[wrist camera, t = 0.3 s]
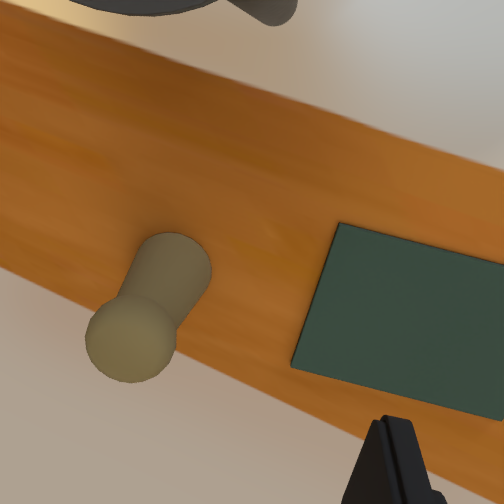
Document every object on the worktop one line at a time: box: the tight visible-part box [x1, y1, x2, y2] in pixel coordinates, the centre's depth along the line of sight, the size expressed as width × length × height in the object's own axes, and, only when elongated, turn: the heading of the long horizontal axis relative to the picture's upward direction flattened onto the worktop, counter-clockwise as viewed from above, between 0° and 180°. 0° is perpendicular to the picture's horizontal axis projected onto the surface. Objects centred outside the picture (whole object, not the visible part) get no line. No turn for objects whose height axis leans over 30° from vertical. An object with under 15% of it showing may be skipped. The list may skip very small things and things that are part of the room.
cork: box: [85, 232, 212, 383], centre depth 30 cm, size 6×6×11 cm
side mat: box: [290, 223, 504, 421], centre depth 34 cm, size 13×18×1 cm
